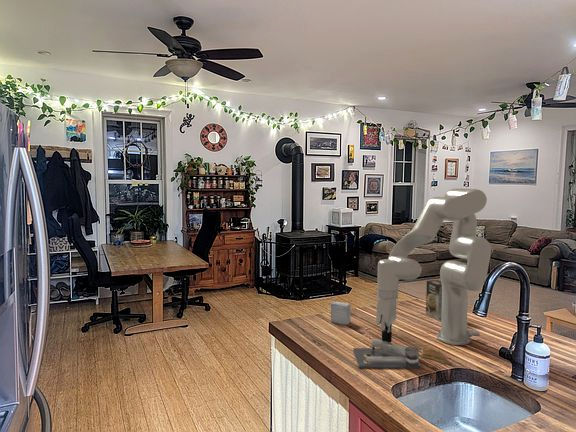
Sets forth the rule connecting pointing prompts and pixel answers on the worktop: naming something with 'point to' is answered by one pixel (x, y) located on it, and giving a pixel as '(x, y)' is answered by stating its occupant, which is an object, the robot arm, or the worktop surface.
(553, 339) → the worktop surface
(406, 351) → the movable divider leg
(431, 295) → the coffee box
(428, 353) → the shard
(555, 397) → the worktop surface
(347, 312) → the medicine box
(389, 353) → the divider base plate
